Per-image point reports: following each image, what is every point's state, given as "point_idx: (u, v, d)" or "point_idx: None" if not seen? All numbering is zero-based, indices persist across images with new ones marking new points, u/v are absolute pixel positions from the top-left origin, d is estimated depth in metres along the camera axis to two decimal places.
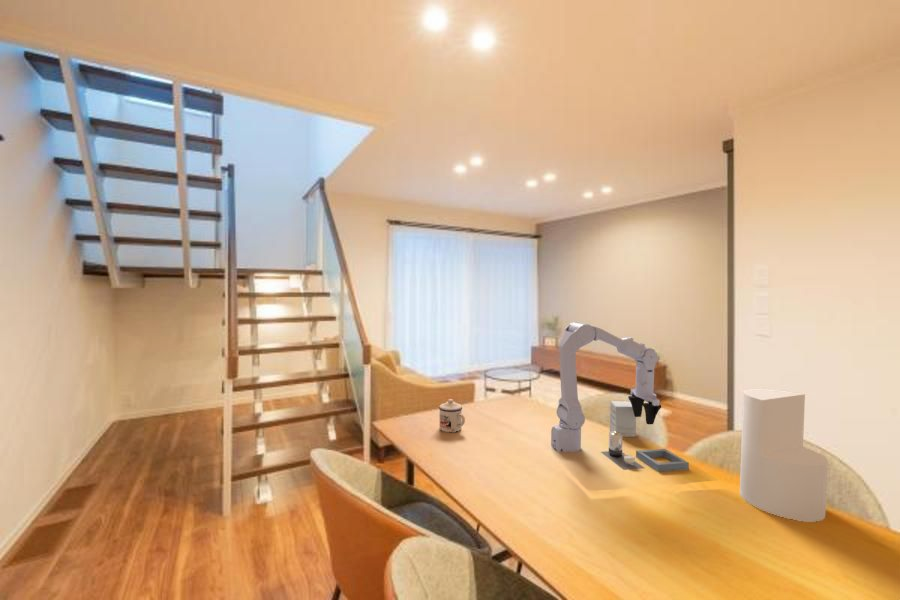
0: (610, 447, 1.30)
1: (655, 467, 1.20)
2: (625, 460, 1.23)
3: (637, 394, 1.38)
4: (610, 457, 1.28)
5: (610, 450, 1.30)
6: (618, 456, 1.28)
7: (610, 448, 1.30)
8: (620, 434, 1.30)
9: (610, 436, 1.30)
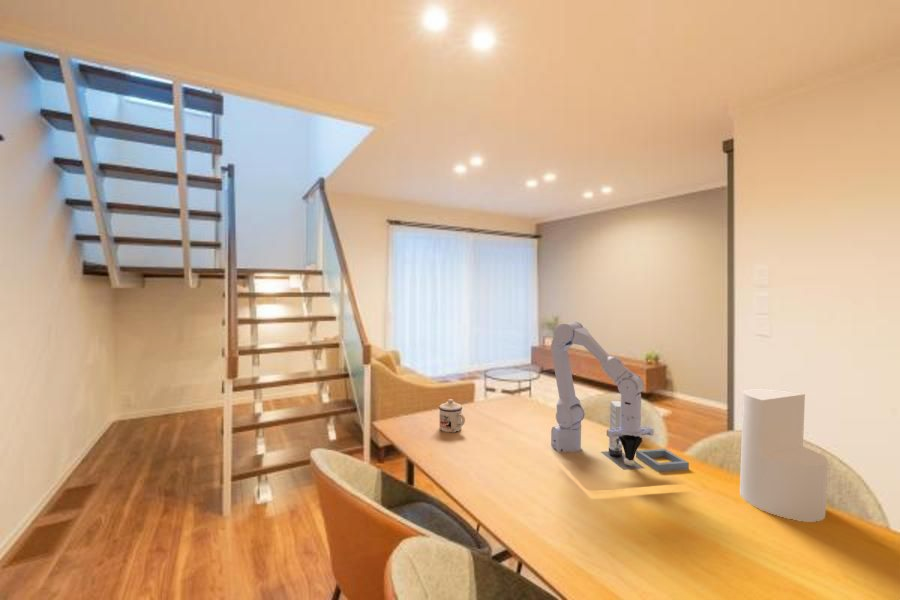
0: (610, 447, 1.30)
1: (655, 467, 1.20)
2: (625, 462, 1.23)
3: None
4: (610, 457, 1.28)
5: (610, 450, 1.30)
6: (618, 456, 1.28)
7: (610, 448, 1.30)
8: None
9: None
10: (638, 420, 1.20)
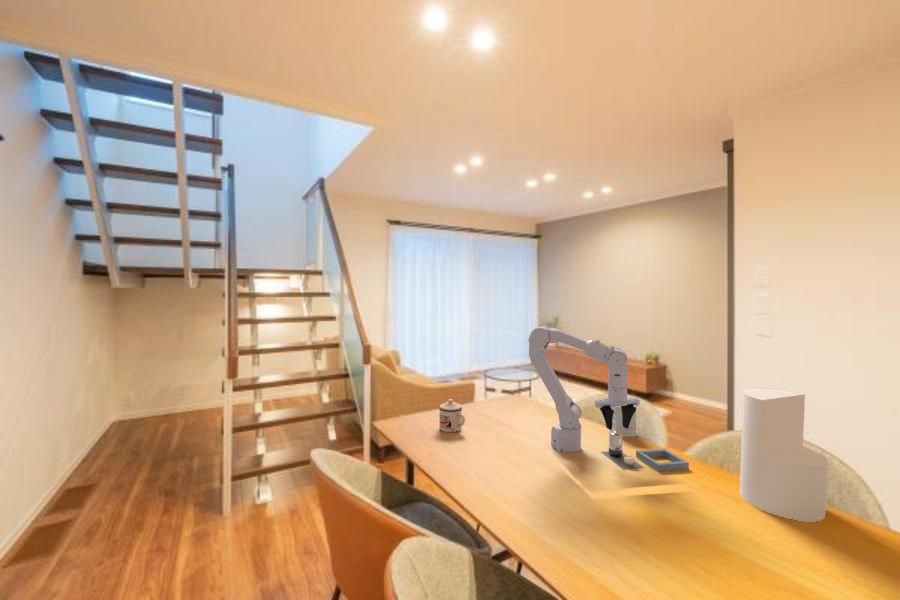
0: (610, 447, 1.30)
1: (655, 467, 1.20)
2: (625, 461, 1.23)
3: None
4: (610, 457, 1.28)
5: (610, 450, 1.30)
6: (618, 456, 1.28)
7: (610, 448, 1.30)
8: (620, 434, 1.30)
9: (610, 436, 1.30)
10: (624, 391, 1.27)
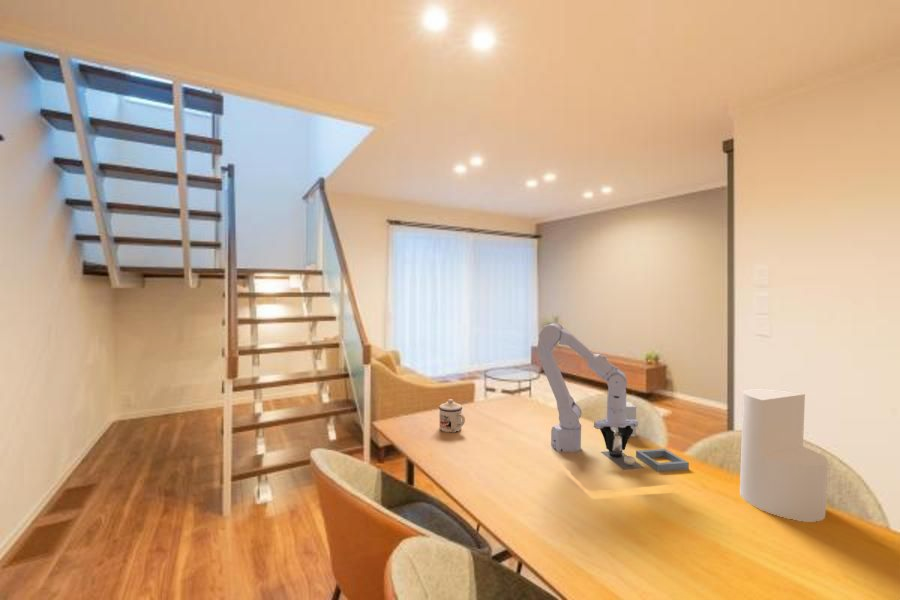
0: None
1: (655, 467, 1.20)
2: (625, 461, 1.23)
3: None
4: (610, 457, 1.28)
5: None
6: (618, 456, 1.28)
7: None
8: (620, 434, 1.30)
9: None
10: (623, 412, 1.27)
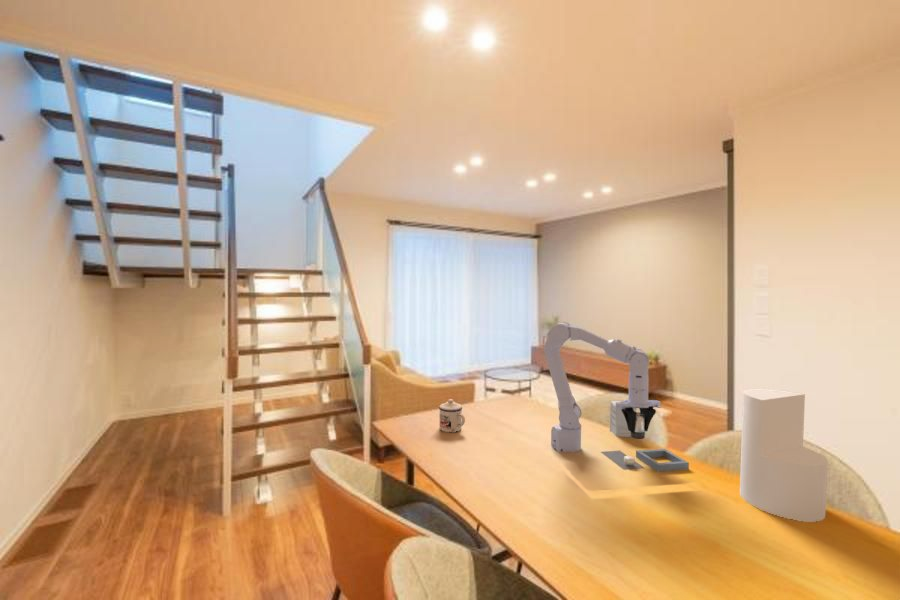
0: None
1: (655, 467, 1.20)
2: (625, 461, 1.23)
3: None
4: (610, 457, 1.28)
5: None
6: (641, 437, 1.25)
7: None
8: (642, 415, 1.27)
9: None
10: (645, 392, 1.24)
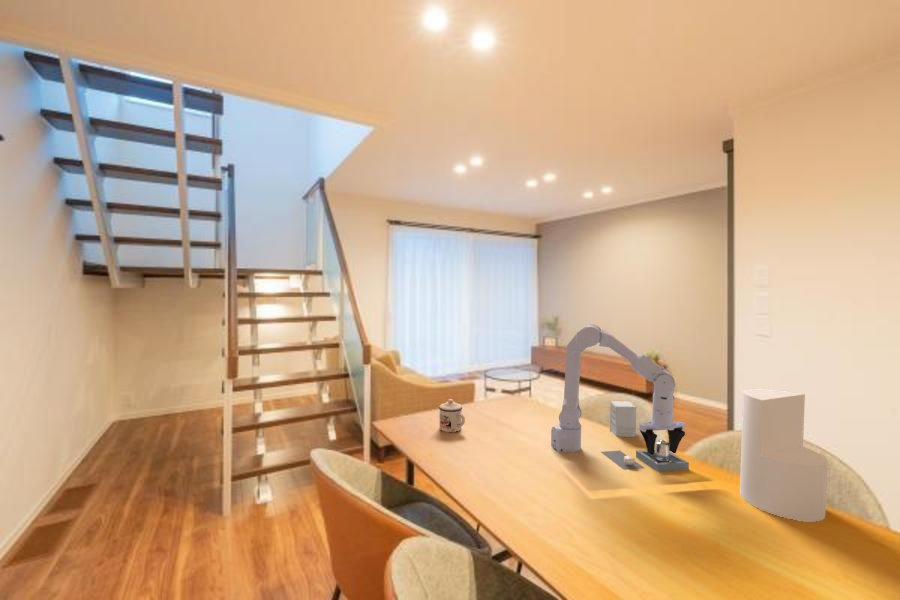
0: (657, 457, 1.24)
1: (655, 467, 1.20)
2: (625, 461, 1.23)
3: None
4: (610, 457, 1.28)
5: (657, 460, 1.24)
6: None
7: (657, 458, 1.24)
8: (667, 443, 1.24)
9: (657, 446, 1.24)
10: (671, 414, 1.22)
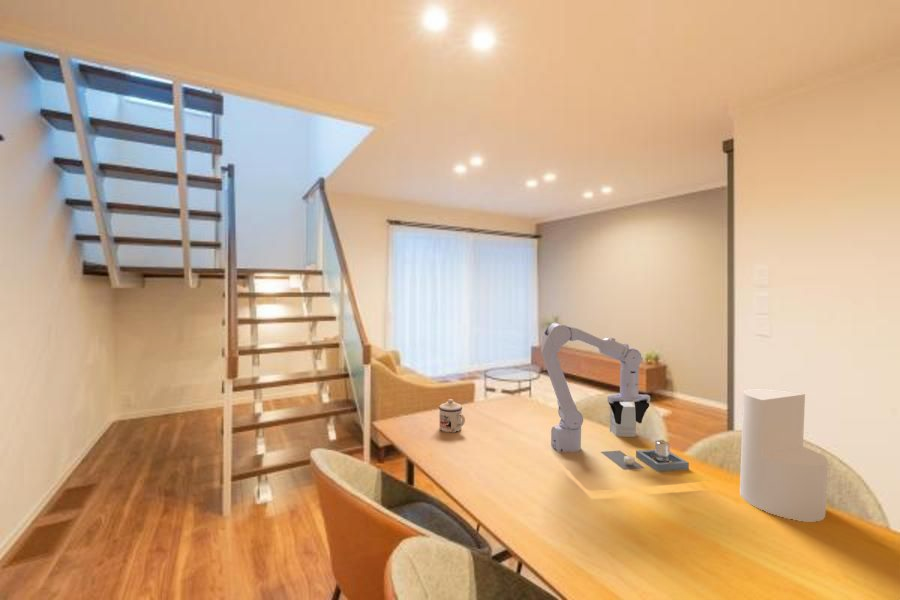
0: (657, 457, 1.24)
1: (655, 467, 1.20)
2: (625, 461, 1.23)
3: None
4: (610, 457, 1.28)
5: (657, 460, 1.24)
6: None
7: (657, 458, 1.24)
8: (667, 443, 1.24)
9: (657, 446, 1.24)
10: (636, 387, 1.32)
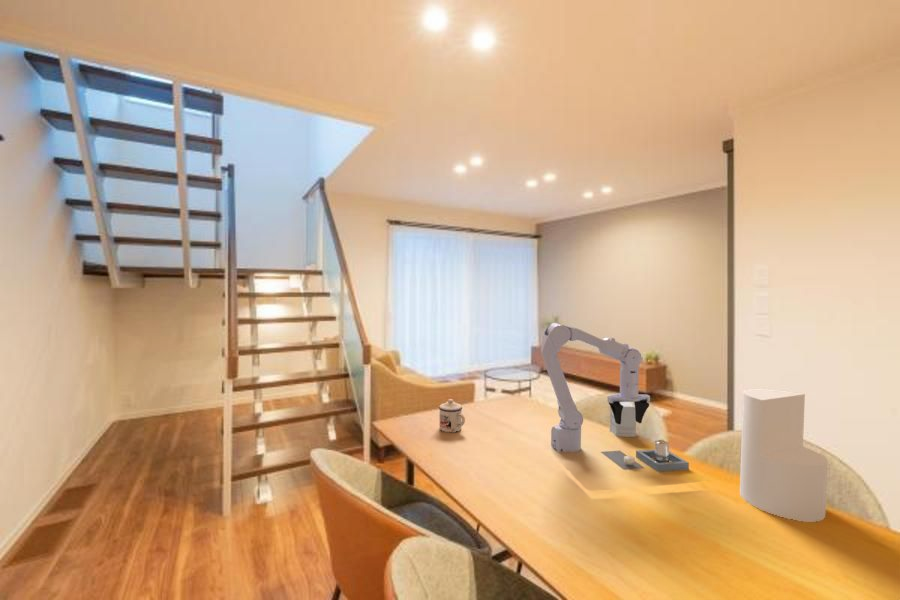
0: (657, 457, 1.24)
1: (655, 467, 1.20)
2: (625, 461, 1.23)
3: None
4: (610, 457, 1.28)
5: (657, 460, 1.24)
6: None
7: (657, 458, 1.24)
8: (666, 443, 1.24)
9: (657, 446, 1.24)
10: (636, 387, 1.32)
